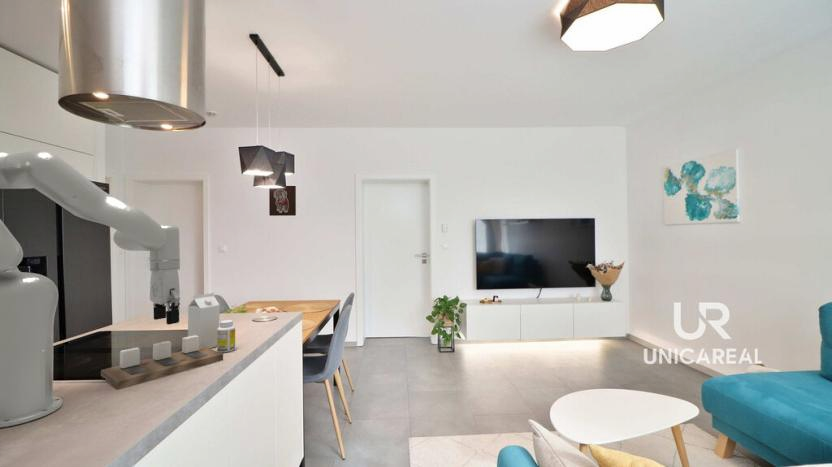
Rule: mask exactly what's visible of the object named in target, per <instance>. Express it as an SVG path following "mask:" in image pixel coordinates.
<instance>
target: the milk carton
mask: <svg viewBox="0 0 832 467" xmlns="http://www.w3.org/2000/svg"><path fill="white" fill-rule="evenodd" d="M219 327H220V303H219V302H218V300H217V298H216V297H215V293H214V292H212V293H205V294H198V295H194V296H193V299H192V300H191V302H190V304H188V307H187V337H189V336H194V335H197V336H199V347H201V346H204V347H207V348H209V349H212V348H217V329H218V328H219Z"/></svg>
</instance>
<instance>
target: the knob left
mask: <svg viewBox="0 0 832 467" xmlns="http://www.w3.org/2000/svg"><path fill="white" fill-rule="evenodd" d="M140 361H141V349H140V348H139V347H137V346H136V347H132V348H128V349H122V350H120V351H119V366H120V367H121V368H126V367H130V366H135V365H139V364H140Z"/></svg>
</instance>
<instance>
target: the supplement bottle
mask: <svg viewBox="0 0 832 467" xmlns="http://www.w3.org/2000/svg"><path fill="white" fill-rule="evenodd" d="M216 348H217V349H216V350H217V352H220V353H229V352H233V351H234V350H236V326H235V325H234V322H233V320H232V319H224V320H221V321H219V328H218V329H217V346H216Z"/></svg>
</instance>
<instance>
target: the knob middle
mask: <svg viewBox="0 0 832 467" xmlns="http://www.w3.org/2000/svg"><path fill="white" fill-rule="evenodd" d="M171 353H172V341H169V340H166V341H161V342H157V343H153V344H152V358H153V359H154V360H160V359H164V358H168V357H171Z"/></svg>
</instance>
